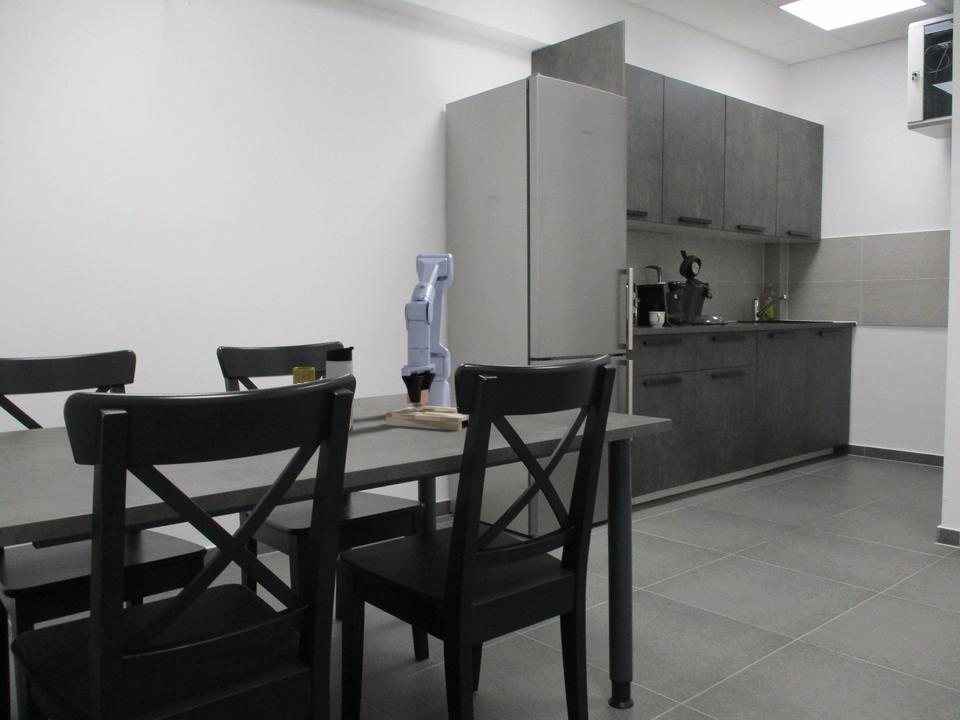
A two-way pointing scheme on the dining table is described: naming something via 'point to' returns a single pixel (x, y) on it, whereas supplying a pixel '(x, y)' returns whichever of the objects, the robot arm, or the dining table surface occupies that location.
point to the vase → (303, 374)
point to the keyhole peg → (423, 400)
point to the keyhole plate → (427, 418)
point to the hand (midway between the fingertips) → (418, 401)
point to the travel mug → (340, 365)
